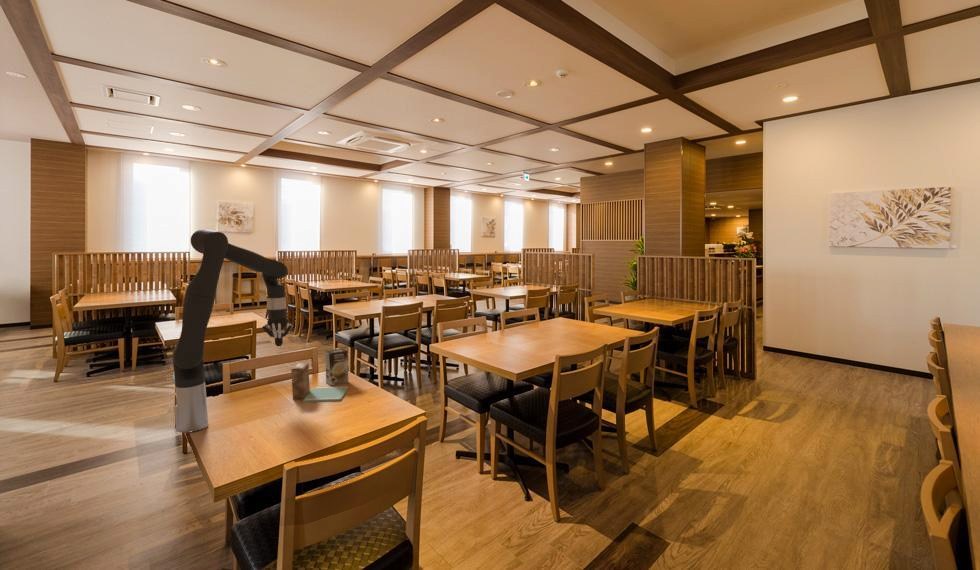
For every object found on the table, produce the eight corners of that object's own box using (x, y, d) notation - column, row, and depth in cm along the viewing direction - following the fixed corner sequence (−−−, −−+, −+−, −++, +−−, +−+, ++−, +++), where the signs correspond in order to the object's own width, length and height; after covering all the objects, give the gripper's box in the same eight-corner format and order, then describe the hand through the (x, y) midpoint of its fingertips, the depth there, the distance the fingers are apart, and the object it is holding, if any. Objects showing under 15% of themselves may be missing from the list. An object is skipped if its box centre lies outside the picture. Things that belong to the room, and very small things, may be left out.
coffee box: (330, 386, 210) (329, 353, 208) (325, 382, 215) (324, 350, 213) (349, 382, 216) (347, 350, 214) (344, 378, 220) (343, 347, 219)
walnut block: (292, 399, 193) (291, 368, 191) (298, 392, 201) (297, 363, 199) (304, 398, 193) (303, 368, 192) (309, 392, 201) (308, 362, 200)
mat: (302, 402, 189) (302, 400, 189) (313, 389, 205) (313, 387, 205) (340, 400, 191) (340, 398, 191) (348, 388, 207) (348, 386, 207)
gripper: (257, 309, 187) (260, 348, 189) (289, 308, 188) (291, 347, 190) (264, 306, 194) (266, 344, 196) (295, 305, 196) (297, 343, 198)
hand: (279, 345), depth 193 cm, fingers closed
